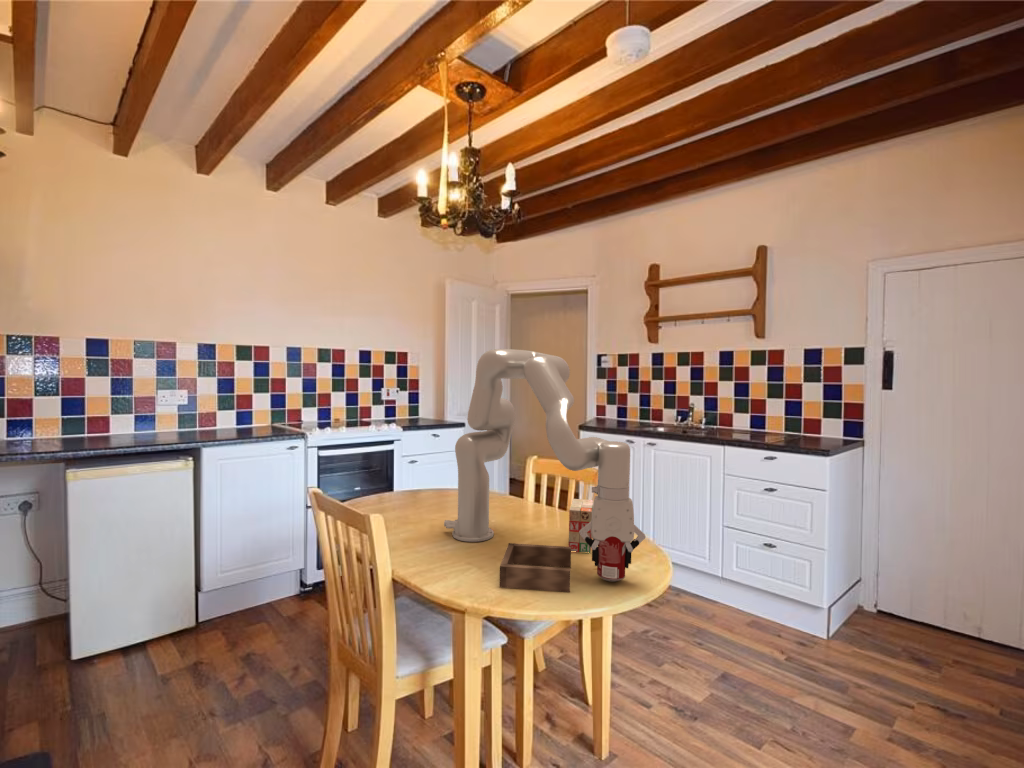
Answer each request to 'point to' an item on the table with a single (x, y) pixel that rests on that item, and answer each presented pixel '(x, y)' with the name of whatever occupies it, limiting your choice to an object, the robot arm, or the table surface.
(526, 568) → the open-side box
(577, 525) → the stack of blocks
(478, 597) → the table surface
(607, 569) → the soda can
